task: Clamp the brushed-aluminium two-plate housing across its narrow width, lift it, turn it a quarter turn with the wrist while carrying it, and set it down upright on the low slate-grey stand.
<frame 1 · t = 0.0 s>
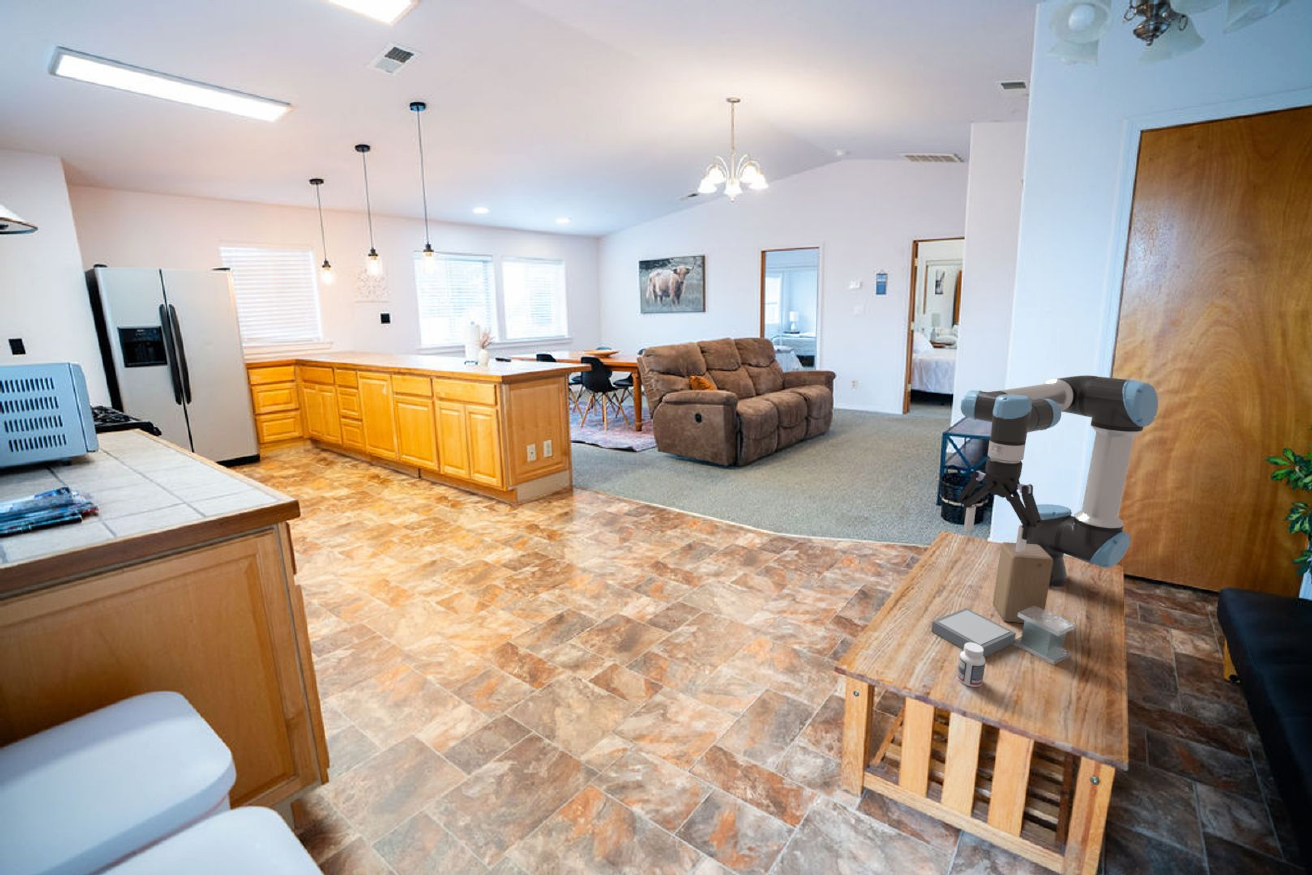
hand: (993, 540, 149), 28 cm above the table, fingers open, 13 cm apart
pill bottle: (969, 681, 140), on the table
wooden block: (1016, 615, 167), on the table
stand: (972, 637, 157), on the table
housing: (1040, 650, 151), on the table
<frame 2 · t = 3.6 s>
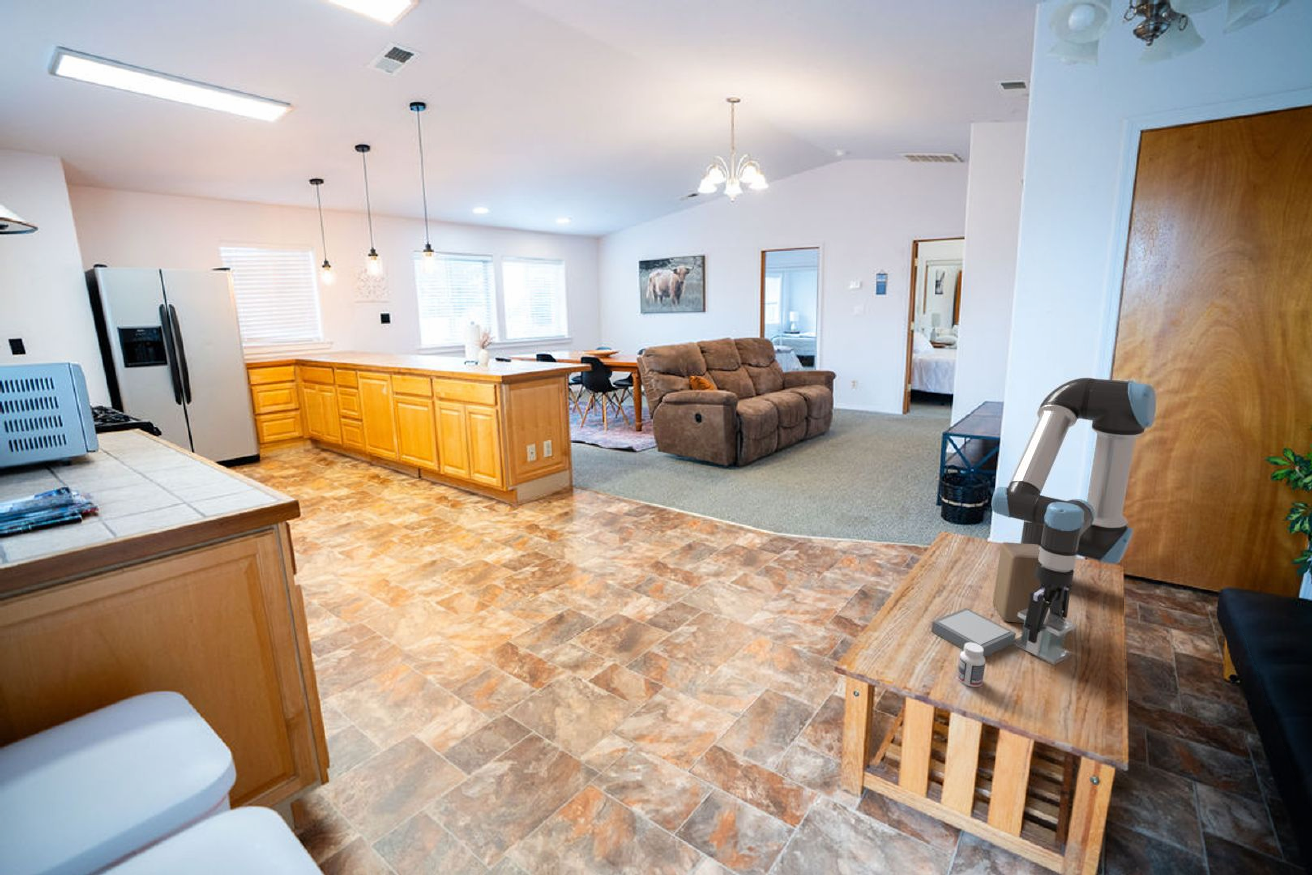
hand: (1041, 647, 151), 1 cm above the table, fingers closed on housing, 7 cm apart
housing: (1040, 650, 151), on the table, touching gripper
everything else where it was.
when the fingers open (4 cm above the table, at t = 9.3 s): housing stays where it is, resting on stand.
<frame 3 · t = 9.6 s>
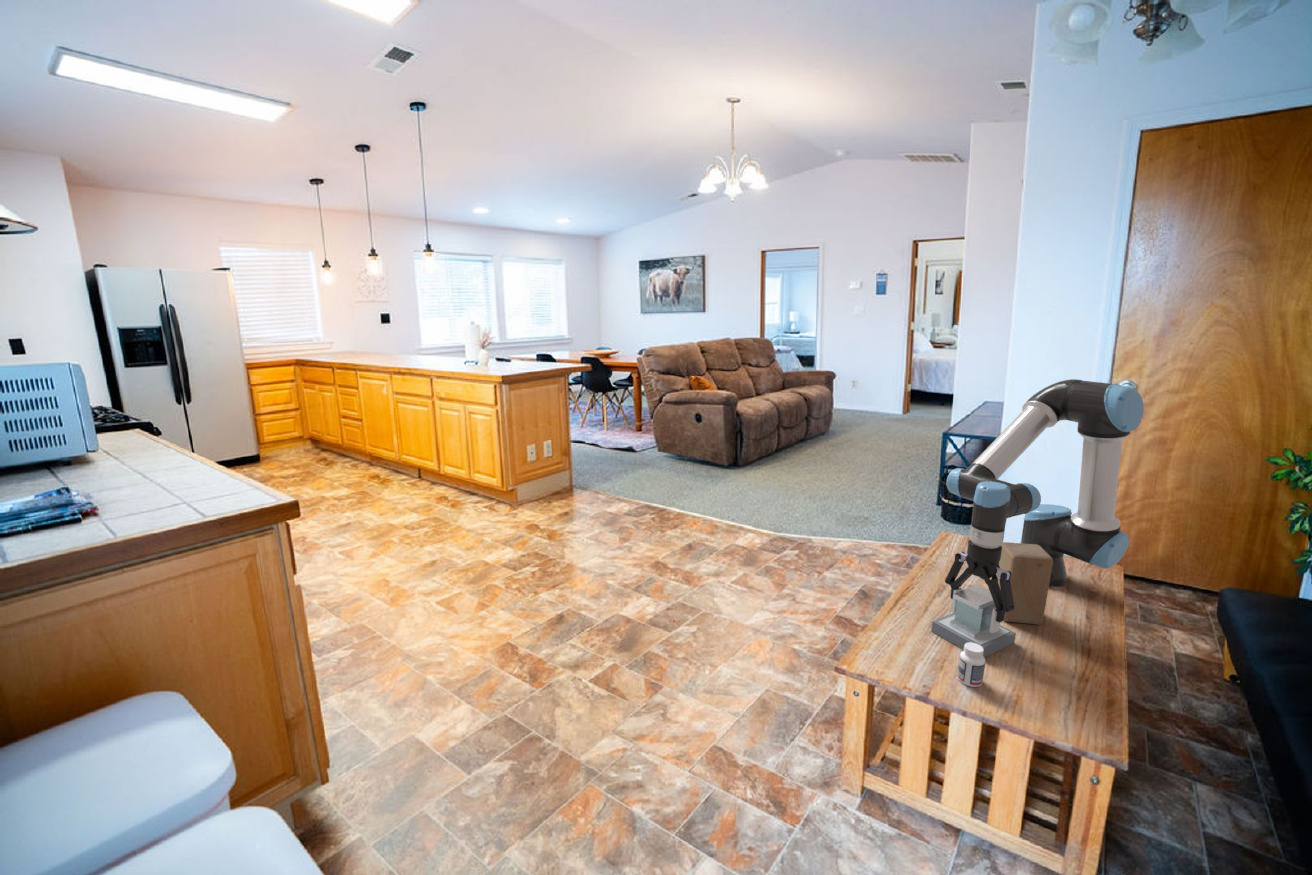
hand: (974, 620, 155), 5 cm above the table, fingers open, 10 cm apart
housing: (973, 626, 156), point 3 cm above the table, touching stand
everything else where it was.
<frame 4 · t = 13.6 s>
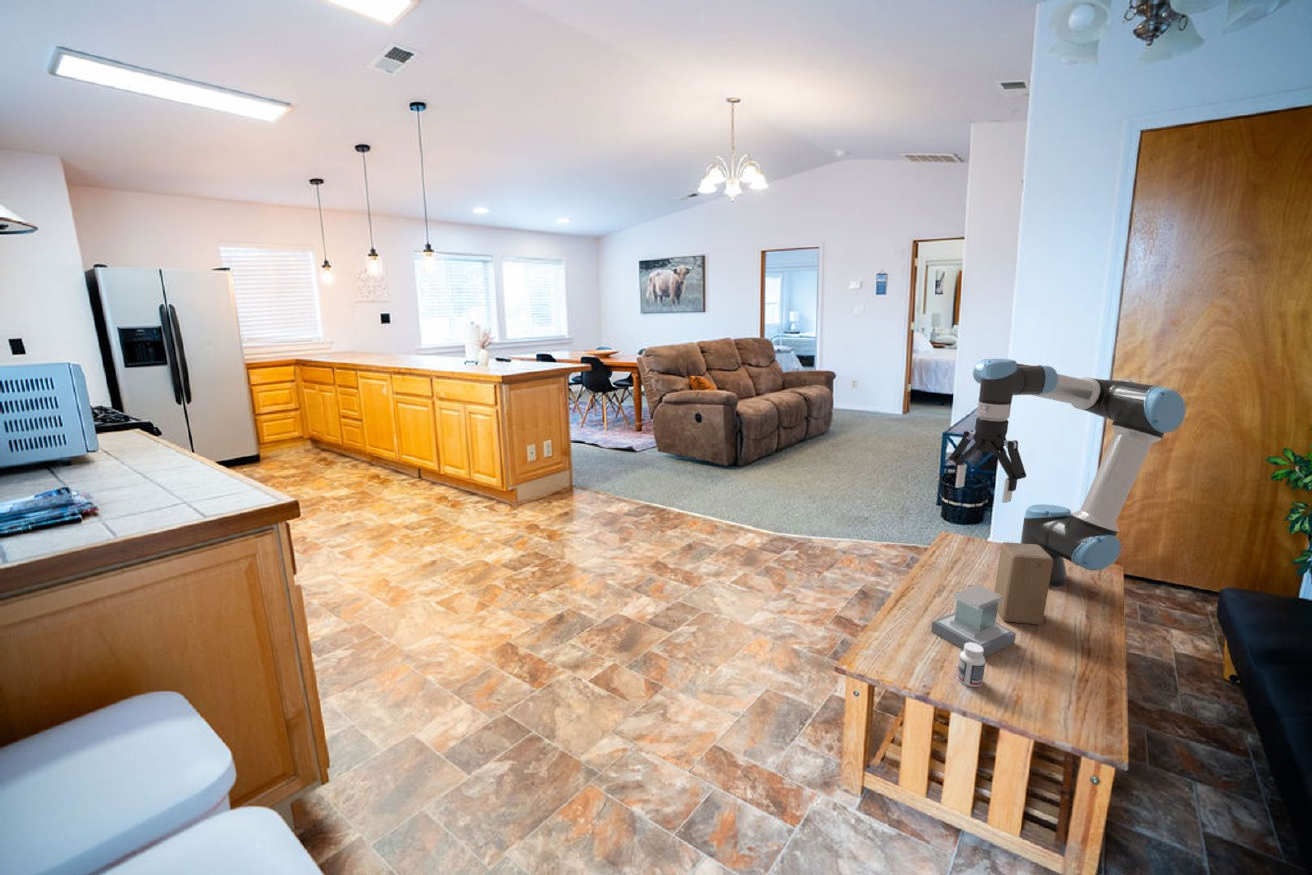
hand: (982, 494, 162), 35 cm above the table, fingers open, 13 cm apart
nothing on the table moved.
at the end: housing 0.2 cm from the stand (horizontally); housing tilted 0°; housing touching stand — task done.
